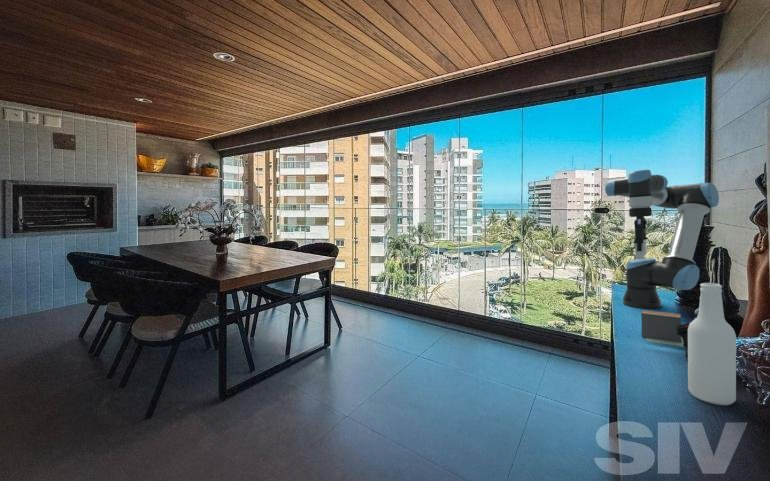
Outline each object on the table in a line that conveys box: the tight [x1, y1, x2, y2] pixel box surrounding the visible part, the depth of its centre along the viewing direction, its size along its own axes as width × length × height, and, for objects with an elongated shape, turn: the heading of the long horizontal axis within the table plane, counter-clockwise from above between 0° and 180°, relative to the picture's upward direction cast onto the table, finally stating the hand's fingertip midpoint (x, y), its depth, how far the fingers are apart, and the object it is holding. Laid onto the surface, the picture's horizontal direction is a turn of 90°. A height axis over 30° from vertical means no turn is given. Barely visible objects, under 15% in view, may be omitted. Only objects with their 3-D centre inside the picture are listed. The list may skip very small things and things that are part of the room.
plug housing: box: [640, 309, 682, 343], centre depth 119 cm, size 5×11×9 cm, turn 48°
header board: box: [645, 337, 685, 350], centre depth 122 cm, size 20×13×5 cm, turn 138°
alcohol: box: [687, 282, 737, 406], centre depth 83 cm, size 9×9×30 cm
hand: (641, 256), depth 138 cm, fingers open, 13 cm apart
